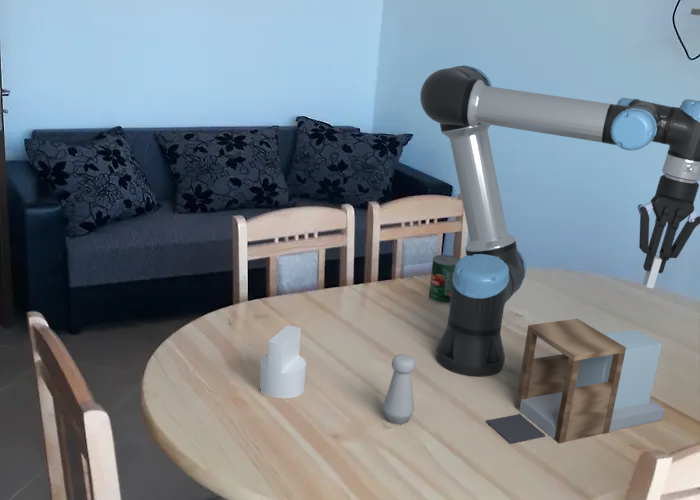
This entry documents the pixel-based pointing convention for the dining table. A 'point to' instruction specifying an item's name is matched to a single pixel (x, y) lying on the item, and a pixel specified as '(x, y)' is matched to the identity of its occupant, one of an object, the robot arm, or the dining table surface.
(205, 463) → the dining table surface
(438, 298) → the canned tomato
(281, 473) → the dining table surface
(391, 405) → the salt shaker
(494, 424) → the dark grey square plate
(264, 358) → the cylinder with rectangular tab
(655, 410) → the runway
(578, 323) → the tunnel
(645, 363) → the block
